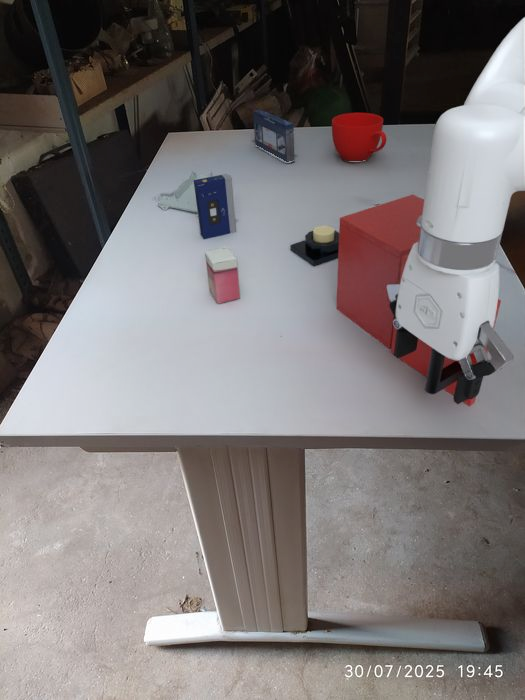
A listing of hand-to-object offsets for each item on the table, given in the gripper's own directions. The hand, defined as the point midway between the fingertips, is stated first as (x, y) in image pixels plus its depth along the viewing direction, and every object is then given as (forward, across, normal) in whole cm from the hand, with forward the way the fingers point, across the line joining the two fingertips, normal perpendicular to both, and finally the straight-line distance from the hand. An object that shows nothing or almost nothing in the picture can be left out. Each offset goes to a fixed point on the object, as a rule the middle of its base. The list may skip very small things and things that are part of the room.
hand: (433, 374), depth 64 cm
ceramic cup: (+7, -78, +52) cm, 95 cm away
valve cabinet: (+7, -20, +12) cm, 24 cm away
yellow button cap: (+4, -43, +15) cm, 46 cm away
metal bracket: (+7, -80, +6) cm, 81 cm away
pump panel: (+7, -44, +15) cm, 47 cm away
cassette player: (+7, -62, +2) cm, 63 cm away
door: (+7, -5, +3) cm, 9 cm away
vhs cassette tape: (+7, -98, +37) cm, 105 cm away
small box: (+7, -40, -8) cm, 42 cm away
